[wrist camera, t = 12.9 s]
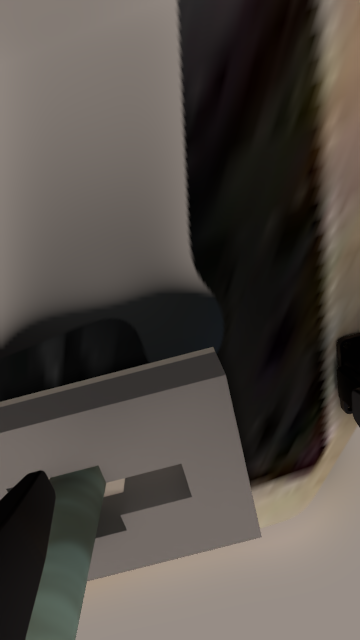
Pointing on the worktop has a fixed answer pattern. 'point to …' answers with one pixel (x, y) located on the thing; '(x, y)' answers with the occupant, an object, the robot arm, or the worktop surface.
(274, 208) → the worktop surface
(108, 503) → the keyhole plate
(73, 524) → the teal post
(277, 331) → the worktop surface
